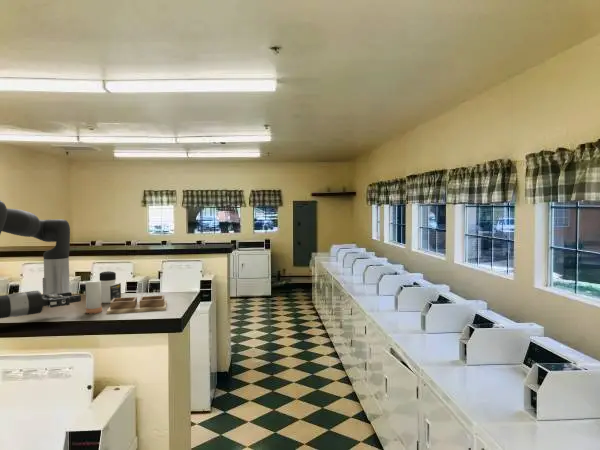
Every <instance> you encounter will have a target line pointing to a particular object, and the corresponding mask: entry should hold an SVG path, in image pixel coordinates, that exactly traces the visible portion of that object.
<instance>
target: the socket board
mask: <svg viewBox="0 0 600 450" xmlns="http://www.w3.org/2000/svg"><path fill="white" fill-rule="evenodd" d="M167 302H168V300H165V295H163V294H162V295H147V296H141V297H140V299H139V301H138V297H137V296H132V297H131V296H129V297H121V298H113V299H112V301H111V302H110V303H109V305H110V306H109V308H107V310H106V314H107V315H110V314H126V313H141V312H142V313H143V312H159V311H166V310H167V305H168V304H167Z"/></svg>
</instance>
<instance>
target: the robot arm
mask: <svg viewBox="0 0 600 450" xmlns="http://www.w3.org/2000/svg"><path fill="white" fill-rule="evenodd" d="M2 232H3V233H7V234H11V235H14V236H15V235H16V236H21V237H26V238H27V237H28V238H34V239H38V240H39V241H42V242H45V243H55V246H54V247H52V248H51V249H49V250H46V251H44V252H43V256H42V257H43V278H42V293H41V292H40V290H32V291H31V290H30V291H23V292H15V293H10V294H5V295H0V319H5V318H6V319H7V318H18V317H22V316H23V317H24V316H29V315H31V316H32V315H35V314H37V315H38V314H41V313H42V311H43V308H44V307H47V308H52V309H53V308H55V307H62V306H70V304H72V303H73V304H74V303H79V302H81V301H82V296H81V295H80V294H77V295H72V292H70V289H71V288H70V284H71V283H70V258H69V257H70V249H71V247H70V246H71V245H70V242H71V241H70V240H71V227H70V223H69V222H68V220H66V219H40V218H39V217H38V216H37V215H36V214H35V213H32V212H30V211H26V210H23V209H16V208H7V206H6V204H5V203H4V202H3V201H2V200H0V235H1V234H2Z"/></svg>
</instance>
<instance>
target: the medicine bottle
mask: <svg viewBox="0 0 600 450" xmlns="http://www.w3.org/2000/svg"><path fill="white" fill-rule="evenodd" d="M116 276H117V273H116V272H115V271H113V270H112V271H111V270H110V271H108V270H107V271H102V272H100V273H99V281H101V304H110V302H111V301H112V299H113V298H122V285H121V282H116V281H117V277H116Z"/></svg>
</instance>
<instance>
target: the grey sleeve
mask: <svg viewBox="0 0 600 450" xmlns="http://www.w3.org/2000/svg"><path fill="white" fill-rule="evenodd" d="M85 303H86V304H85V314H88V313H89V314H92V313H94V314H98V313H102V312H103V306H102V303H101V281H100V280H88V281H85ZM92 315H93V314H92Z"/></svg>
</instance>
